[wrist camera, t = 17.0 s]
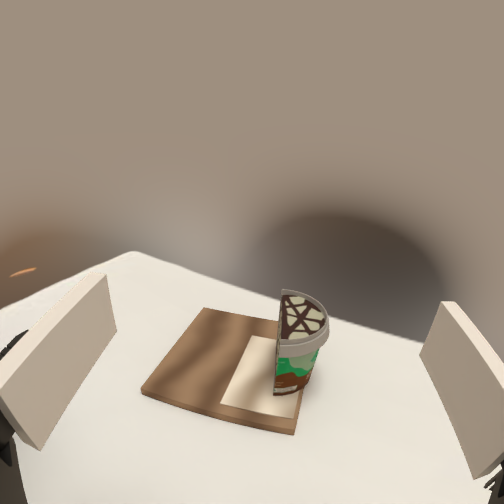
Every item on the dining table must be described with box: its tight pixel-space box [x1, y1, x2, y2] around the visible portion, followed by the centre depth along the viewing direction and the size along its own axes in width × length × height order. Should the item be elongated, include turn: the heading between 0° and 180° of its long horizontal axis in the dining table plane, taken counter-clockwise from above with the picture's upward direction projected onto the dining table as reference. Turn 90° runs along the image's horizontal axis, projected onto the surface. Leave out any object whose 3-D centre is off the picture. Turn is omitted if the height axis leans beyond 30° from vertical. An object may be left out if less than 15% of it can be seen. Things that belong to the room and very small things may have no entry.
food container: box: [273, 289, 329, 396], centre depth 37 cm, size 12×6×10 cm, turn 174°
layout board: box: [141, 308, 304, 435], centre depth 43 cm, size 20×22×1 cm
